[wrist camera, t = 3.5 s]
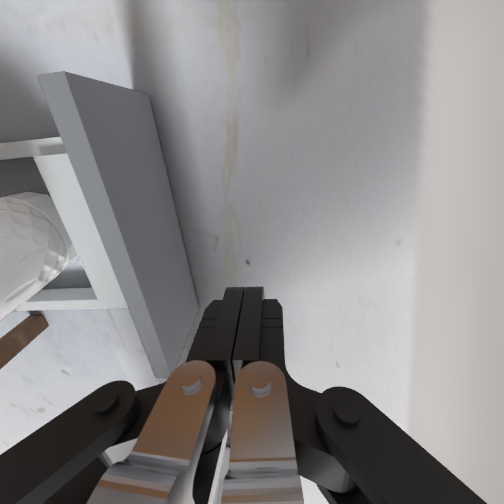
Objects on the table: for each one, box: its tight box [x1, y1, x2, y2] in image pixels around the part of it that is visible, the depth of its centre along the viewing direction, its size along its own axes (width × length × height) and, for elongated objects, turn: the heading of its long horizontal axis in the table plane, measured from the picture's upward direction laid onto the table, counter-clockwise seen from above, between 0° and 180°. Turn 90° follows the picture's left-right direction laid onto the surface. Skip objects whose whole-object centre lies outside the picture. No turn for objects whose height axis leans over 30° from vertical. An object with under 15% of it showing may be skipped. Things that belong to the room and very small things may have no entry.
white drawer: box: [0, 71, 199, 378], centre depth 18 cm, size 20×18×8 cm
